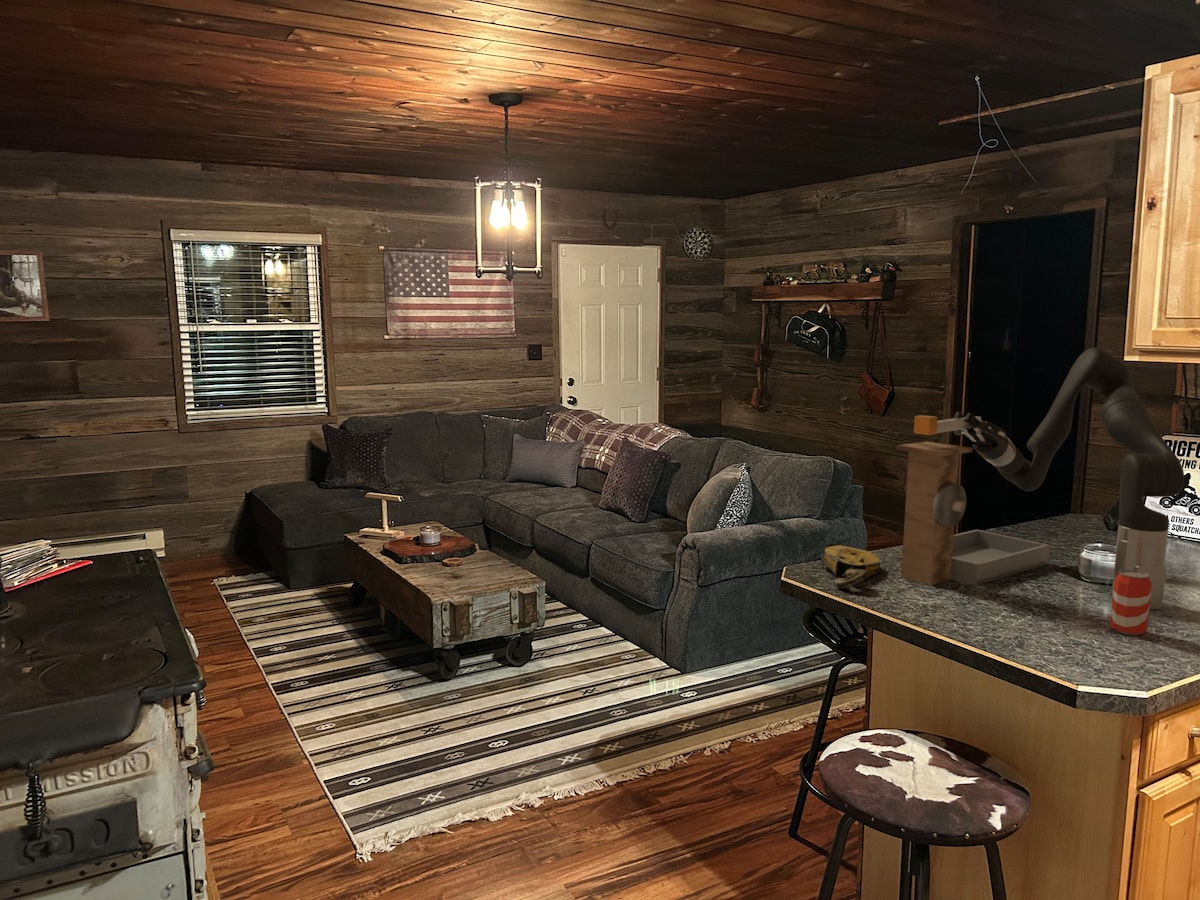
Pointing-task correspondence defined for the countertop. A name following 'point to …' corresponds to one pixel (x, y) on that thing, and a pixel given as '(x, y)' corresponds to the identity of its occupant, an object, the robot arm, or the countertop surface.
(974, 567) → the tray
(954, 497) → the bracket
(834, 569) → the pulley block
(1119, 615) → the beverage can
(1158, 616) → the countertop surface
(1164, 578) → the robot arm
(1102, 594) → the countertop surface
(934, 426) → the pin
